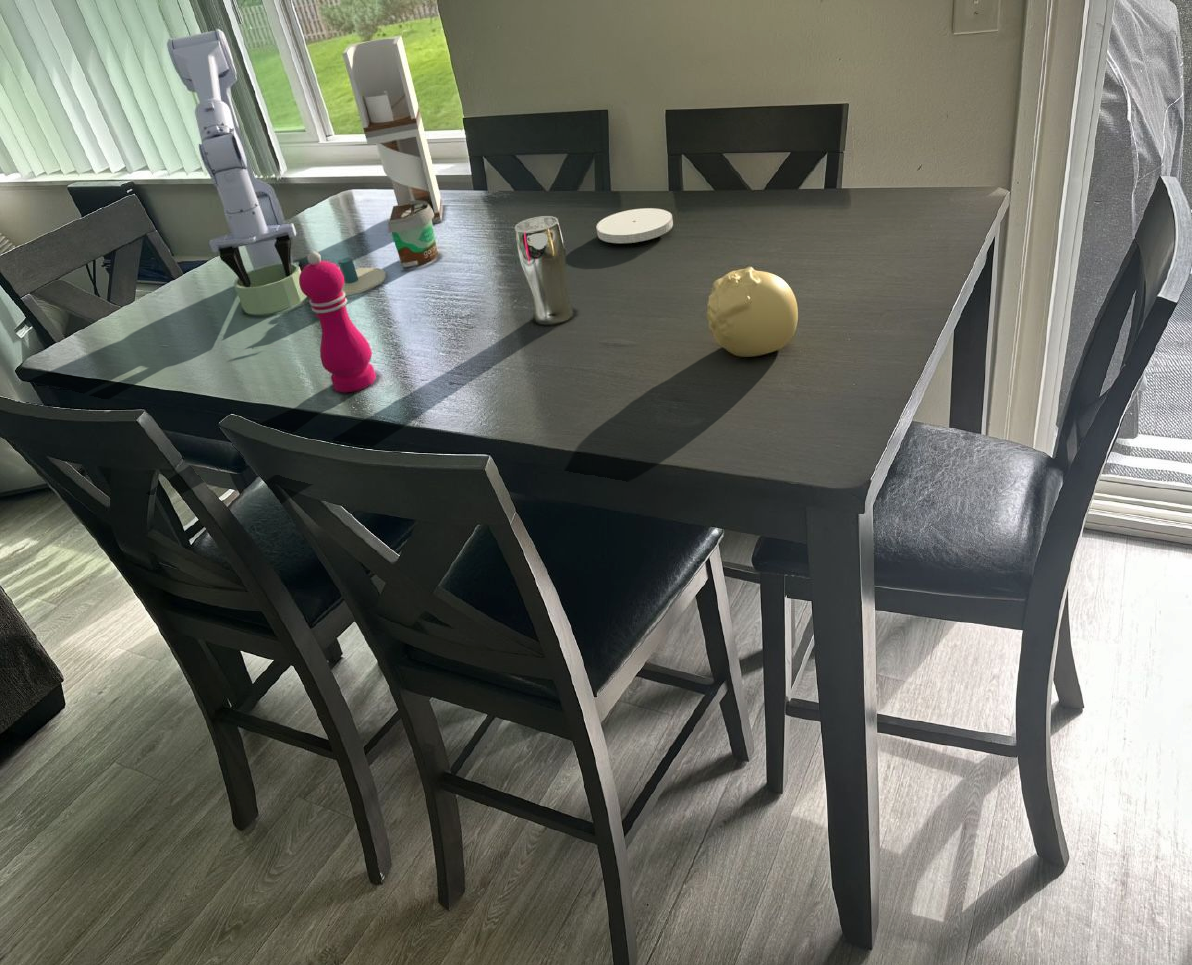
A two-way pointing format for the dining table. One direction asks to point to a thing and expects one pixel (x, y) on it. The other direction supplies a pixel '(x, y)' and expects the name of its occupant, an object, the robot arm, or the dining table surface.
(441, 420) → the dining table surface
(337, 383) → the pepper mill
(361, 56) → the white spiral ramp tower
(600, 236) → the plastic lid
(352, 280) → the tub lid
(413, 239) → the food container
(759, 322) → the sculpture
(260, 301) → the tub
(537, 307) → the beer glass
